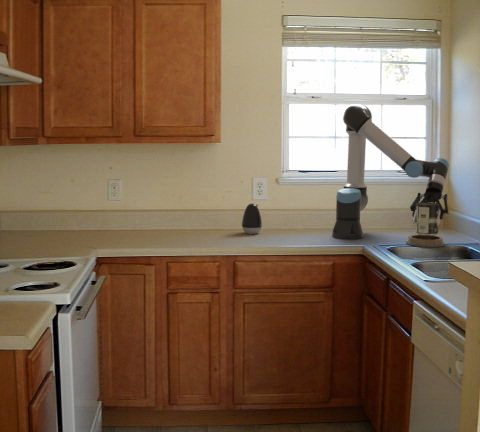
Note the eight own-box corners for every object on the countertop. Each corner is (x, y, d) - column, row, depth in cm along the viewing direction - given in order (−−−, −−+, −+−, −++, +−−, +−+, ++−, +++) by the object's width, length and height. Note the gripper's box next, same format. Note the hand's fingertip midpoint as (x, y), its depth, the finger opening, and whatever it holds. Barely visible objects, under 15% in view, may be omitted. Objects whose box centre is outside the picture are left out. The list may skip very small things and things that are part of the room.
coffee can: (437, 232, 314) (438, 202, 312) (439, 236, 304) (440, 205, 302) (414, 231, 316) (415, 202, 314) (415, 235, 306) (416, 204, 304)
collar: (402, 245, 307) (402, 238, 307) (412, 240, 322) (412, 233, 322) (439, 249, 299) (439, 241, 299) (448, 243, 314) (448, 236, 313)
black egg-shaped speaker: (265, 232, 340) (266, 203, 338) (255, 235, 331) (255, 205, 329) (248, 231, 346) (249, 201, 344) (237, 233, 337) (238, 203, 335)
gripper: (460, 192, 315) (451, 230, 304) (412, 190, 326) (402, 226, 315) (458, 182, 310) (449, 219, 298) (410, 180, 321) (399, 216, 309)
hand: (425, 223), depth 307 cm, fingers closed on coffee can, 10 cm apart
